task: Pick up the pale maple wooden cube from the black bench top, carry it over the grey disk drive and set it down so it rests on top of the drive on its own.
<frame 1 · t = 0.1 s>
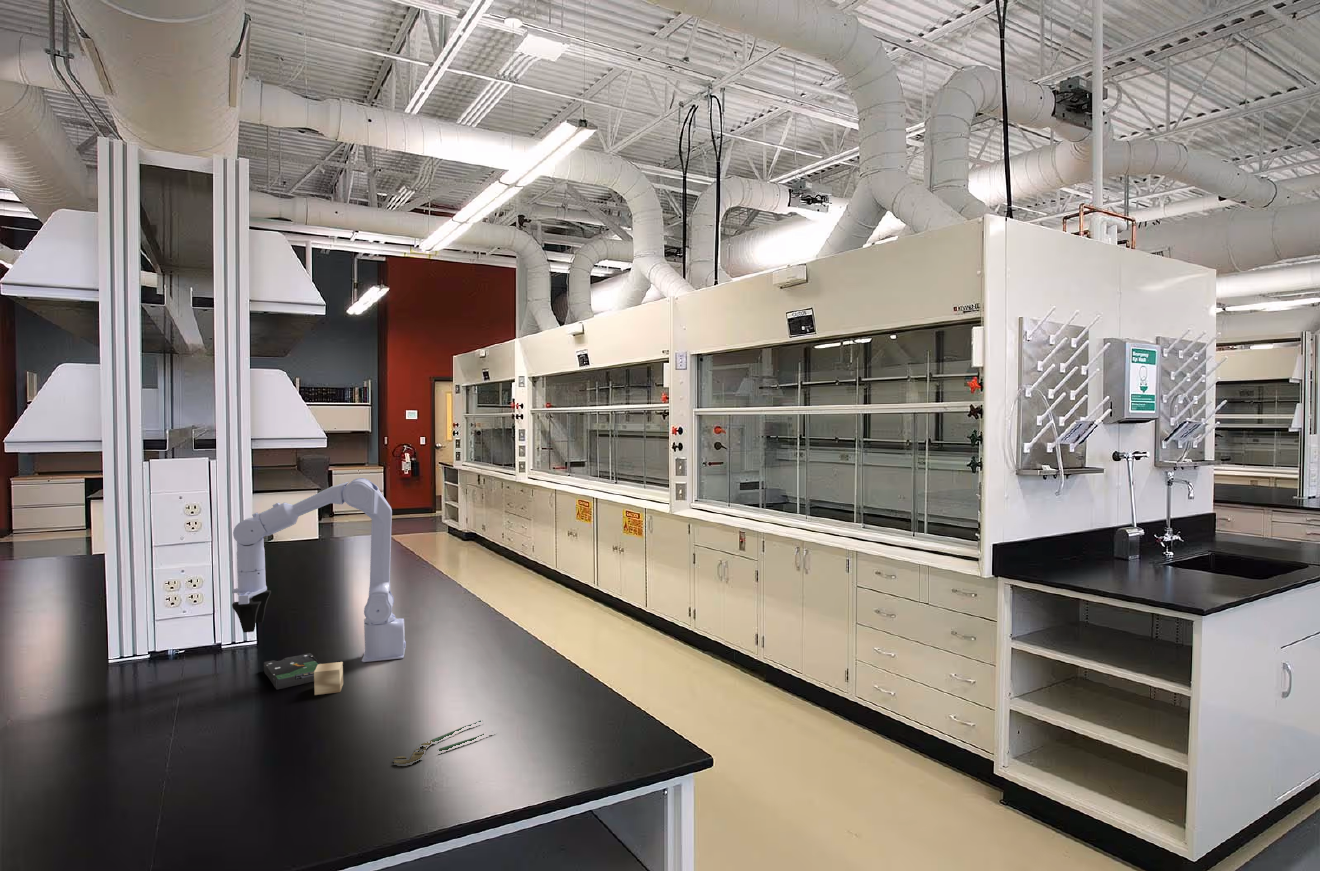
hand: (253, 627, 169), 10 cm above the table, tool pointing down, fingers open, 7 cm apart
maple cube: (329, 689, 157), on the table
pliers: (444, 747, 130), on the table
disk drive: (294, 677, 166), on the table
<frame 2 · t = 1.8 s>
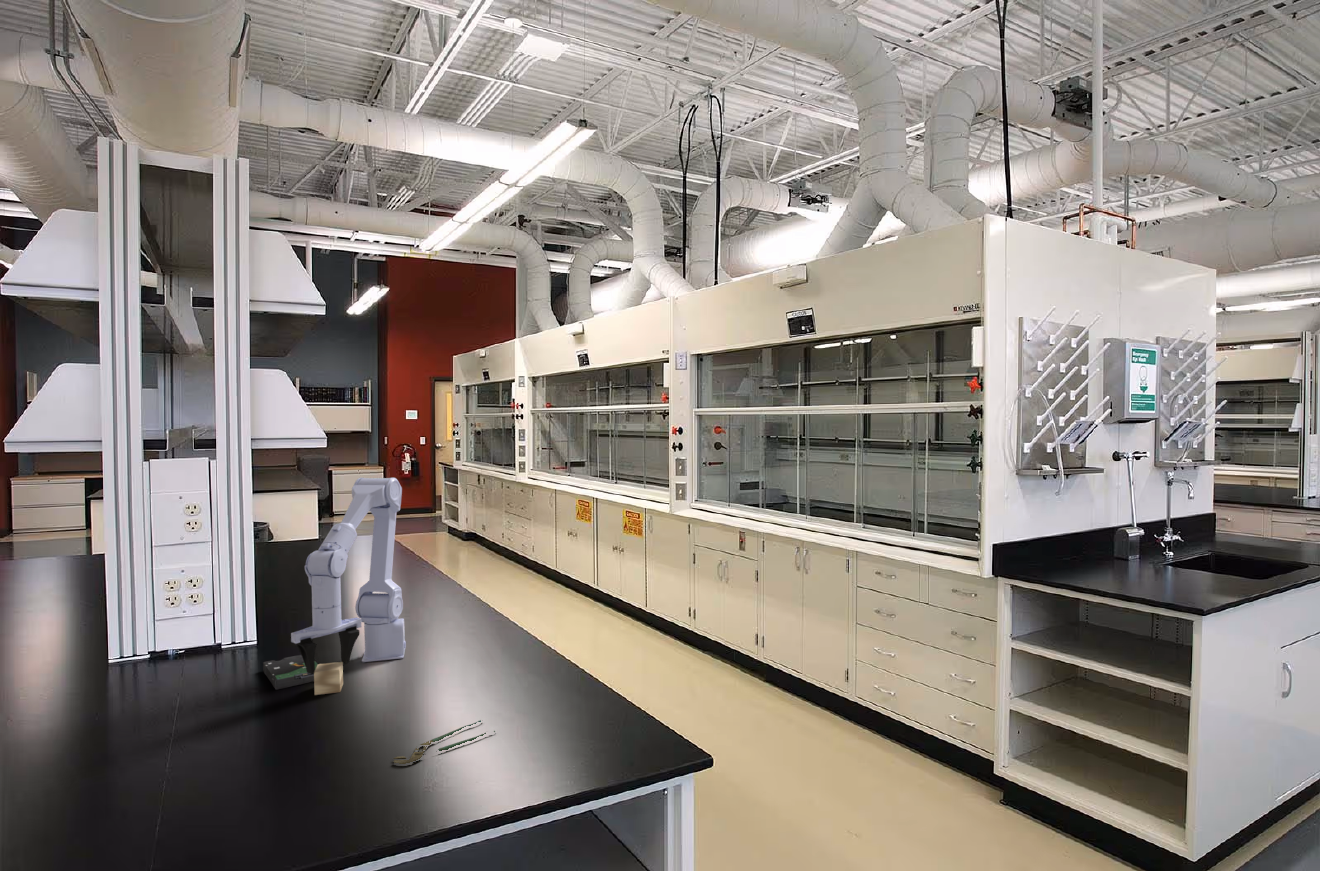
hand: (328, 667, 156), 5 cm above the table, tool pointing down, fingers open, 7 cm apart
maple cube: (329, 689, 157), on the table, touching gripper
everything else where it was.
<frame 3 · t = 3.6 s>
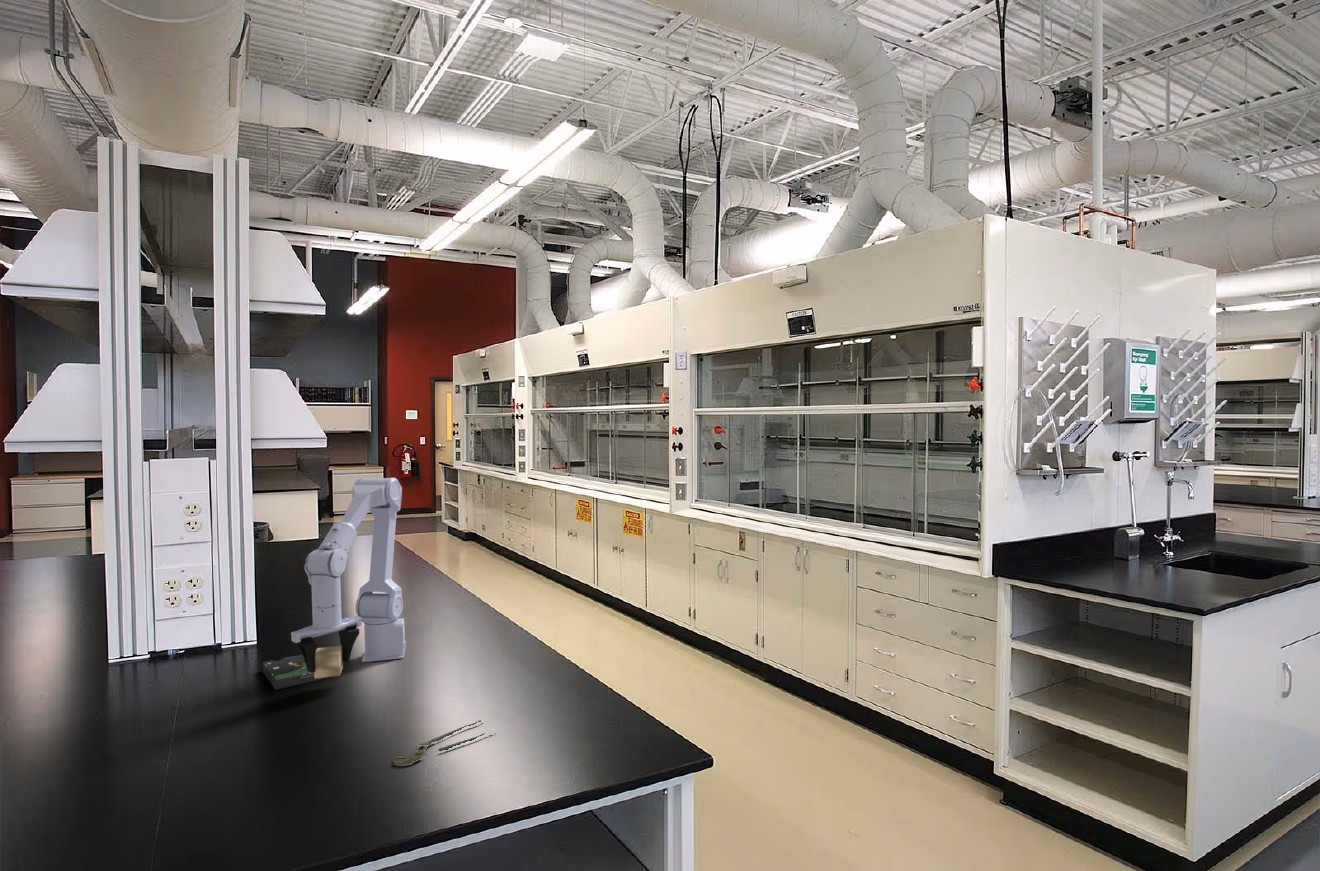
hand: (328, 666, 156), 5 cm above the table, tool pointing down, fingers closed on maple cube, 7 cm apart
maple cube: (328, 673, 157), point 3 cm above the table, touching gripper
everything else where it was.
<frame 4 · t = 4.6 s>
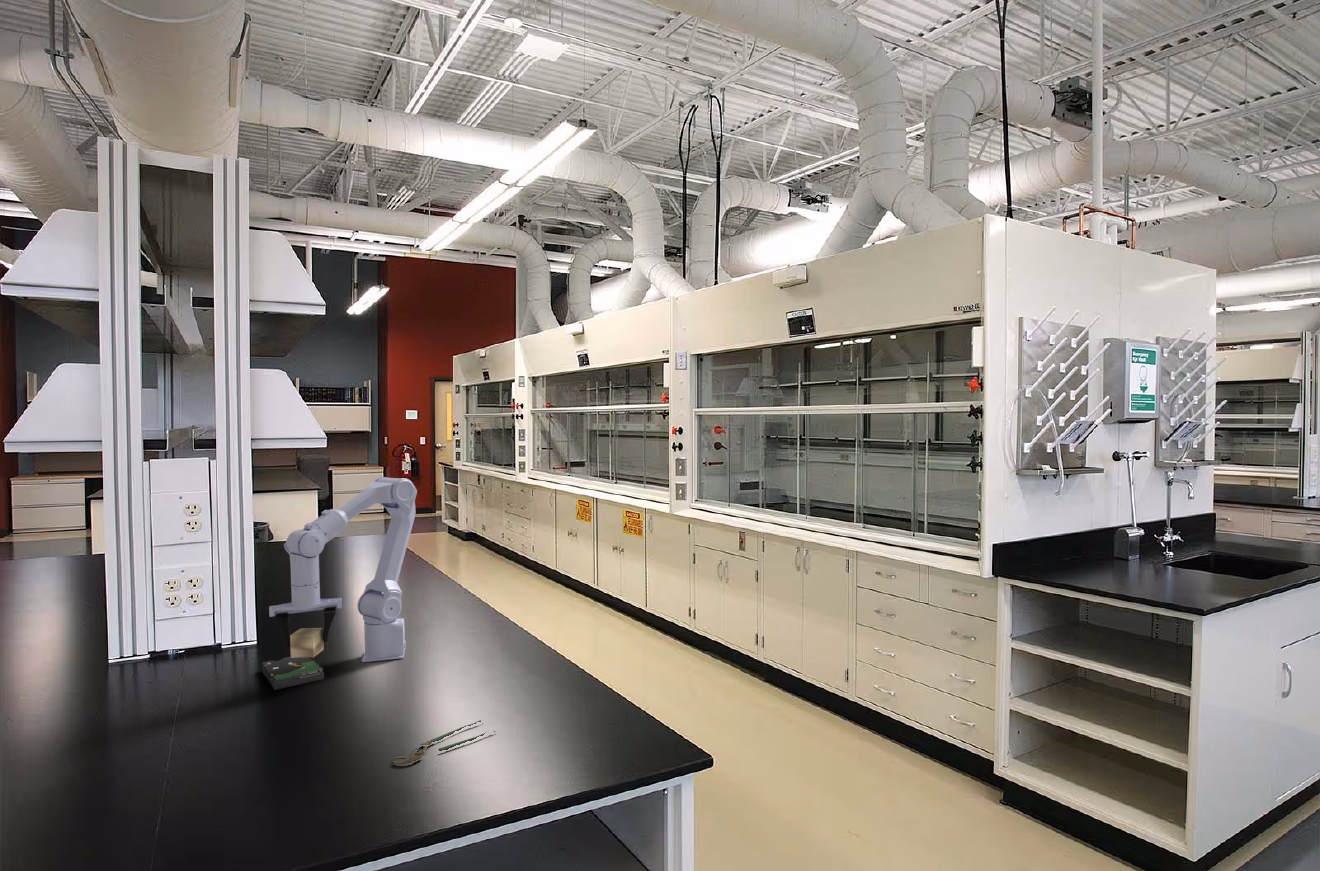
hand: (307, 643, 162), 8 cm above the table, tool pointing down, fingers closed on maple cube, 7 cm apart
maple cube: (307, 653, 161), point 6 cm above the table, touching gripper
everything else where it was.
when the fingers open (8 cm above the table, at t = 4.6 s): maple cube drops 4 cm, resting on disk drive.
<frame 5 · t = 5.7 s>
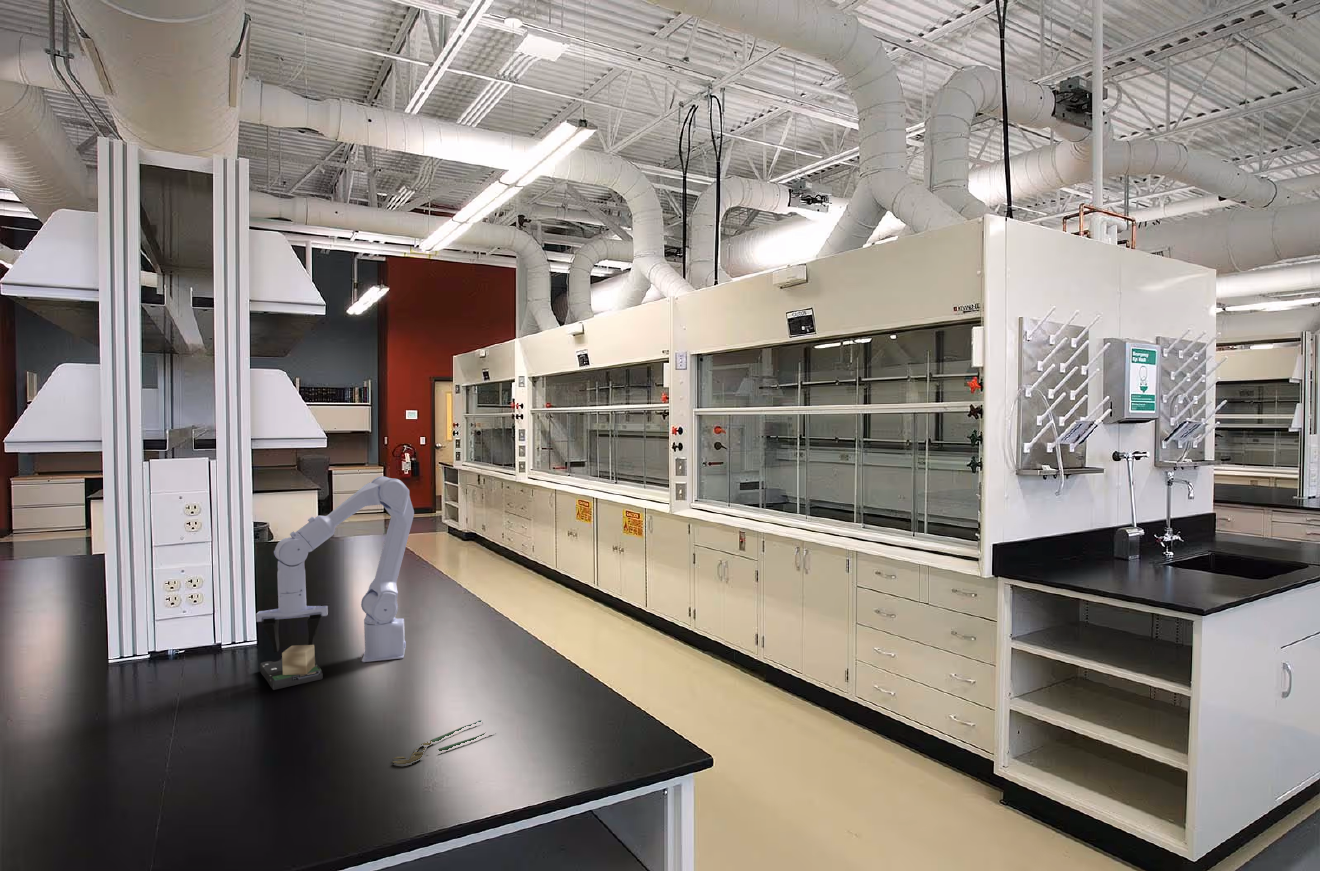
hand: (293, 649, 165), 6 cm above the table, tool pointing down, fingers open, 7 cm apart
maple cube: (299, 670, 163), point 2 cm above the table, touching disk drive
disk drive: (291, 678, 165), on the table, touching maple cube
everything else where it was.
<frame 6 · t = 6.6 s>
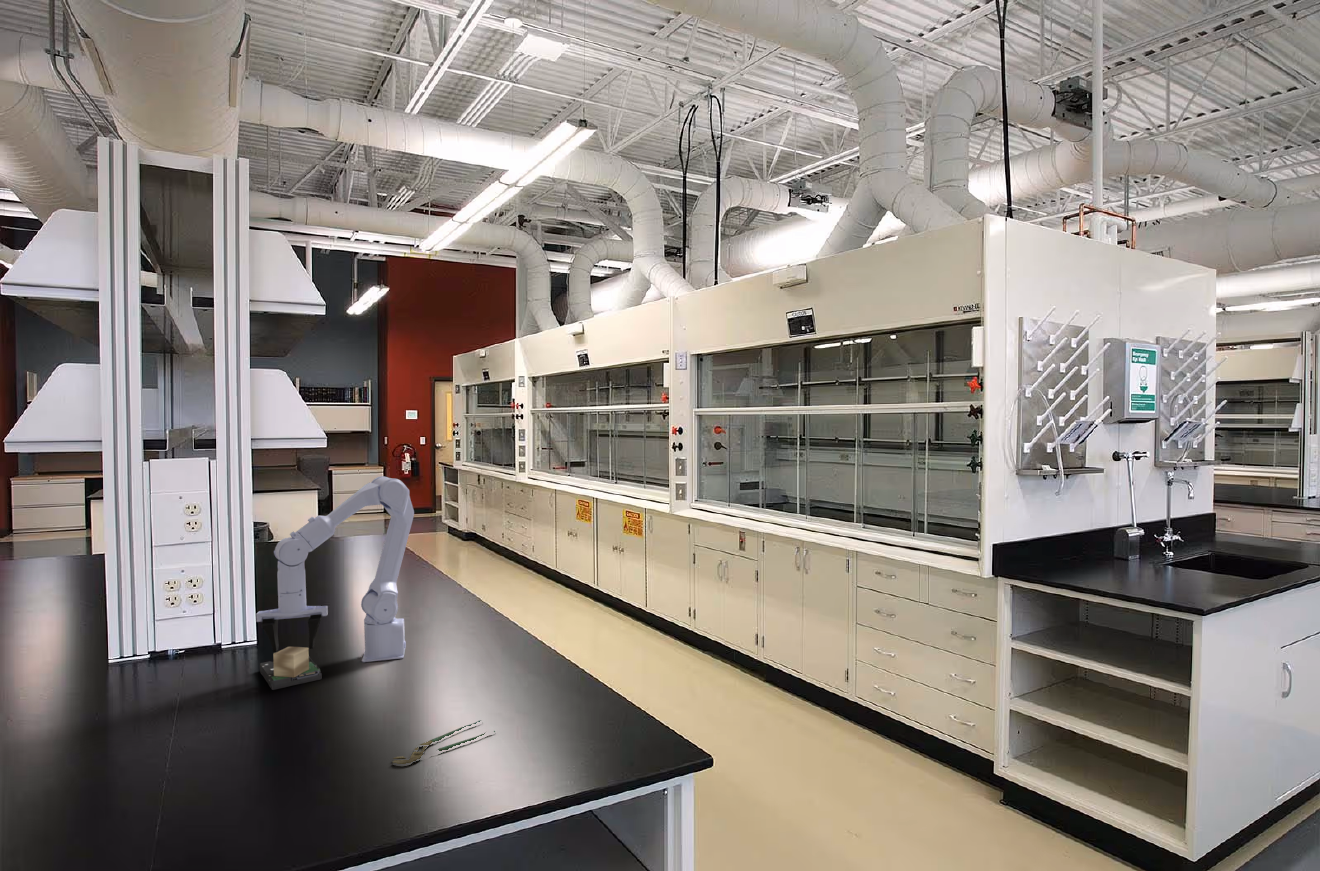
hand: (293, 649, 165), 6 cm above the table, tool pointing down, fingers open, 7 cm apart
maple cube: (291, 672, 161), point 2 cm above the table, touching disk drive
everything else where it was.
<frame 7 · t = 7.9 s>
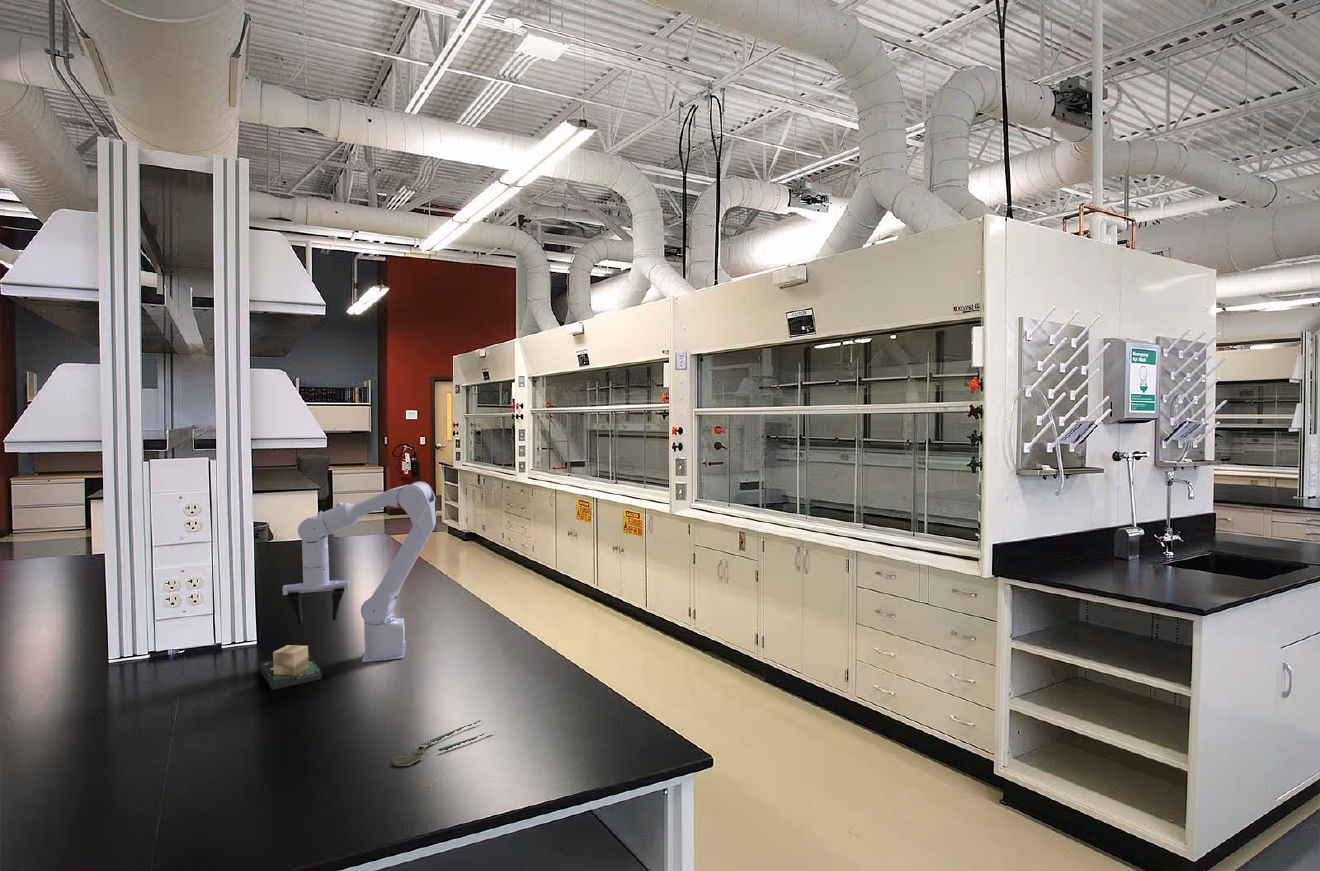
hand: (317, 620, 176), 9 cm above the table, tool pointing down, fingers open, 7 cm apart
maple cube: (291, 670, 162), point 2 cm above the table, touching disk drive
everything else where it was.
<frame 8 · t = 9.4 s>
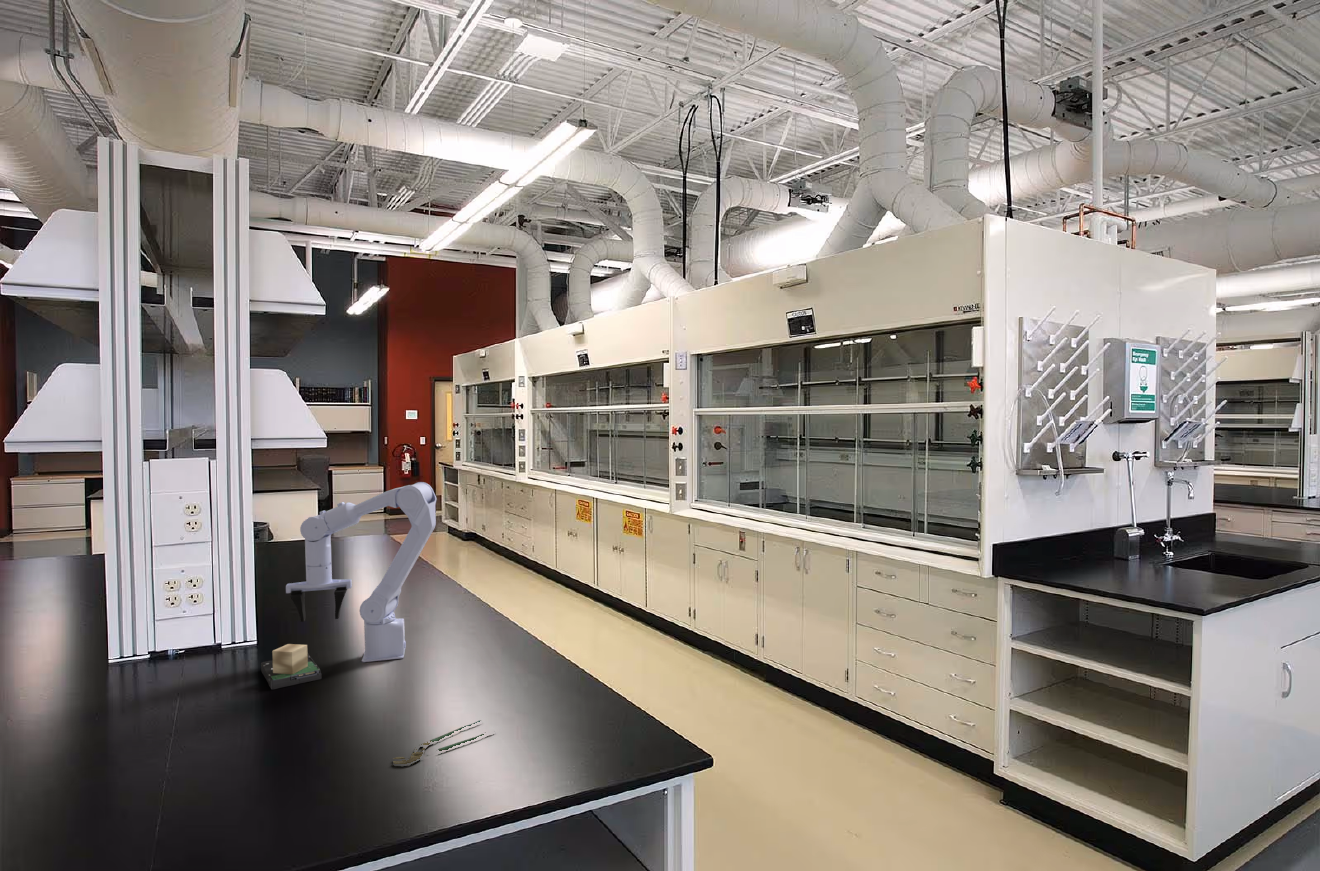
hand: (320, 619, 177), 9 cm above the table, tool pointing down, fingers open, 7 cm apart
maple cube: (290, 669, 163), point 2 cm above the table, touching disk drive
everything else where it was.
at the end: maple cube inside the target area on the disk drive (2.5 cm from its centre), point 2.9 cm above the disk drive's base; maple cube tilted 1°; maple cube touching disk drive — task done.
